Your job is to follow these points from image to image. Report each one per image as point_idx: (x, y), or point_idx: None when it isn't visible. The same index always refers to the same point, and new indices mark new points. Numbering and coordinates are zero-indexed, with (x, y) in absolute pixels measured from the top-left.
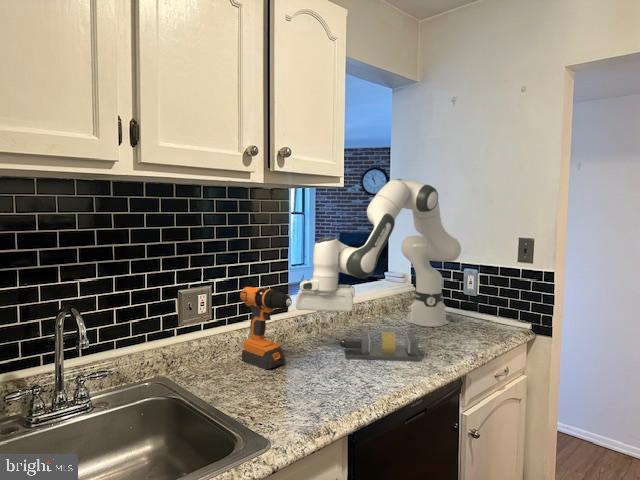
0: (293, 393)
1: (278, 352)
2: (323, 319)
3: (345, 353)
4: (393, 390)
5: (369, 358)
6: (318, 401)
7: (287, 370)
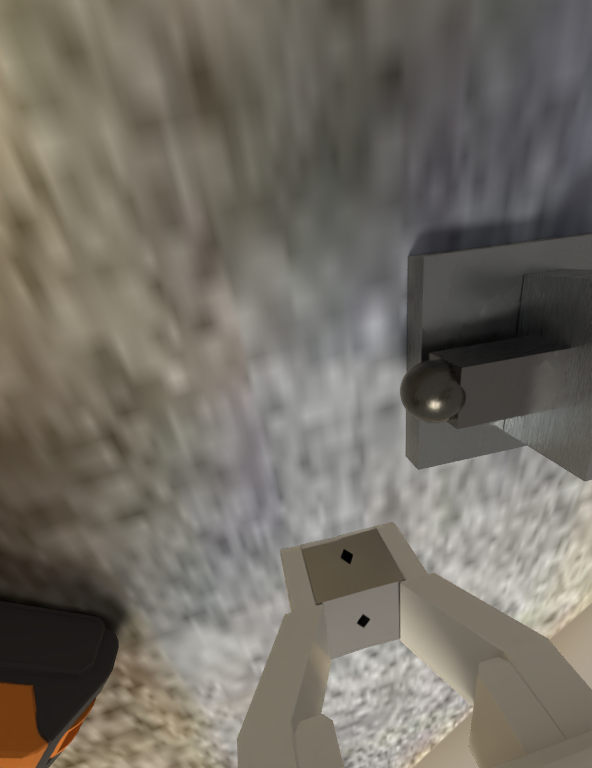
0: None
1: (68, 729)
2: (350, 636)
3: (421, 454)
4: None
5: None
6: None
7: (163, 654)
